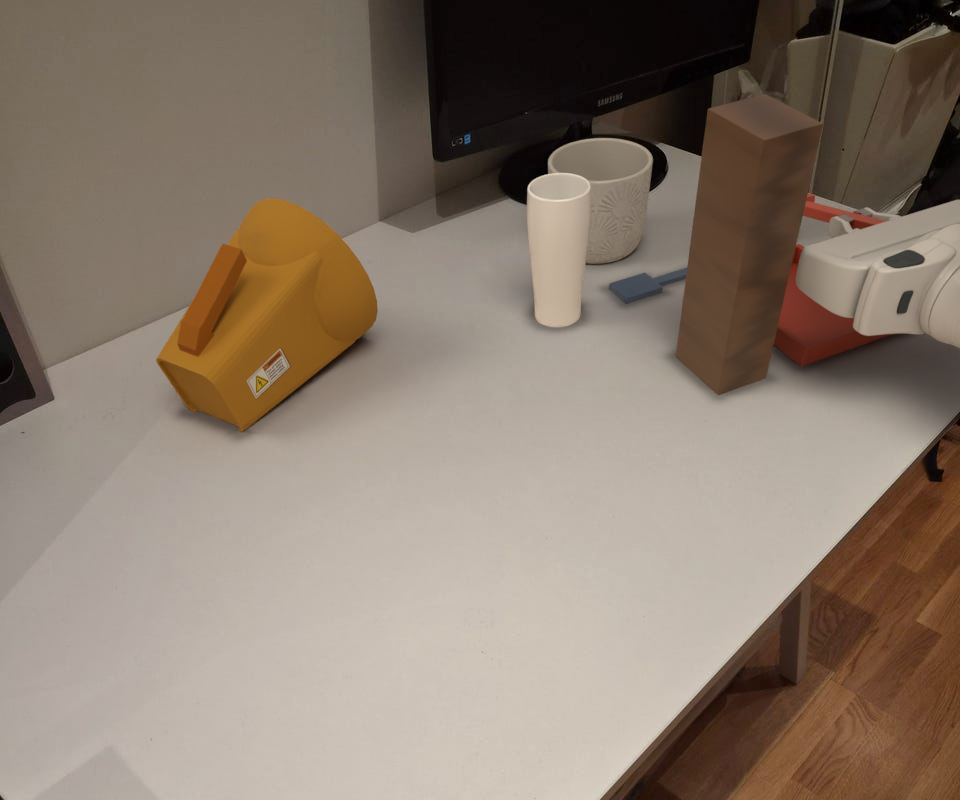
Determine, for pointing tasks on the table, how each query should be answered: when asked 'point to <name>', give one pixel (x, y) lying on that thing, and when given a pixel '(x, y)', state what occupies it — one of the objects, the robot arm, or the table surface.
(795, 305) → the red tray
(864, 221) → the red spoon
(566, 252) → the drinking glass
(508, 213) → the table surface
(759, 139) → the stand
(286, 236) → the flared yellow plastic housing
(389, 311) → the table surface
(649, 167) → the planter
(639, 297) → the blue spoon
